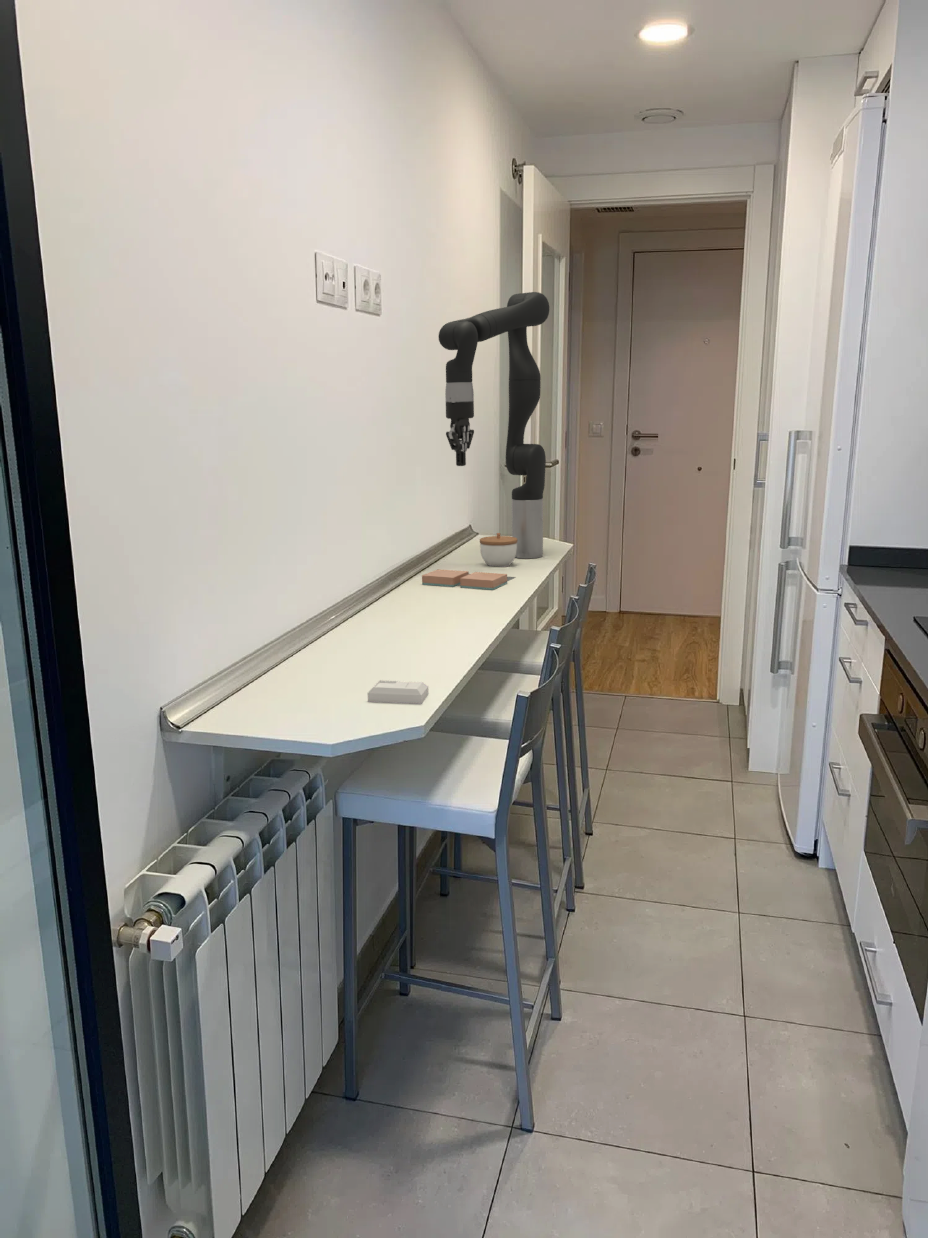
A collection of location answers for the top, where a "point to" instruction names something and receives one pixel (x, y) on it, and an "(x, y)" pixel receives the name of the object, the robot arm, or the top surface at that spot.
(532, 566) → the top surface
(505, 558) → the lidded jar
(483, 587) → the tile
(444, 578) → the tile
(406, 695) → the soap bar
